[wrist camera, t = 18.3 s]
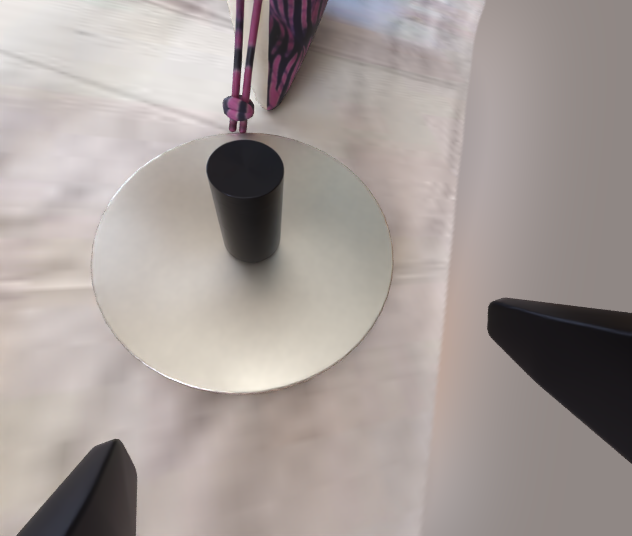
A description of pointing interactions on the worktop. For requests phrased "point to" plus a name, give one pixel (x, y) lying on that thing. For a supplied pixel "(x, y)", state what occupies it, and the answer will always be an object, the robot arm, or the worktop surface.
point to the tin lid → (242, 263)
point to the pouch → (268, 51)
